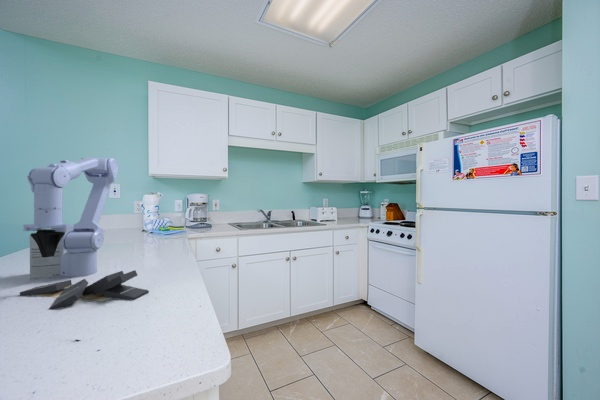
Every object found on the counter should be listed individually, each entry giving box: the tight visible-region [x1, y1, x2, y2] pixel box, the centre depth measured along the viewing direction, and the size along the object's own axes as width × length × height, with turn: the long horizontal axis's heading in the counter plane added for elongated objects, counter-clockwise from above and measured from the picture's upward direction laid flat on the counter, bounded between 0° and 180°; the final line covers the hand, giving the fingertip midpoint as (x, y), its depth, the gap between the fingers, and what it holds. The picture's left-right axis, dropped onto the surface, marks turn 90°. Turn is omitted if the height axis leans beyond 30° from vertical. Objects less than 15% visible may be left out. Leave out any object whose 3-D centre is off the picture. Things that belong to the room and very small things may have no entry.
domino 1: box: [19, 279, 73, 297], centre depth 70 cm, size 2×5×9 cm
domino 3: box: [82, 270, 125, 295], centre depth 69 cm, size 2×5×9 cm
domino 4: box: [94, 269, 138, 295], centre depth 68 cm, size 2×5×9 cm
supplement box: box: [29, 232, 67, 280], centre depth 88 cm, size 9×9×15 cm
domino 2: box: [50, 278, 89, 310], centre depth 64 cm, size 2×5×9 cm
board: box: [34, 283, 110, 302], centre depth 69 cm, size 21×9×1 cm, turn 81°
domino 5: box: [104, 283, 150, 301], centre depth 67 cm, size 2×5×9 cm
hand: (48, 256), depth 71 cm, fingers closed
